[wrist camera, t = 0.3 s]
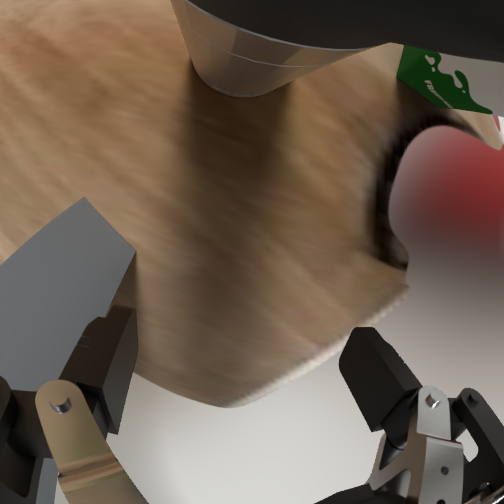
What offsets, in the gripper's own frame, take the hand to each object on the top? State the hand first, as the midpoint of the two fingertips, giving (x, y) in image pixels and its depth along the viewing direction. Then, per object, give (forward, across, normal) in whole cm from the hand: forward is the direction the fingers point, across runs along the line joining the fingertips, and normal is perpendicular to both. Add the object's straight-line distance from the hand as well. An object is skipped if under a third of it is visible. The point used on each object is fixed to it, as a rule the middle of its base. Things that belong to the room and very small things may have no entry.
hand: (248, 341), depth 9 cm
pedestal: (+18, +15, +6) cm, 25 cm away
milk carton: (+17, -18, -22) cm, 33 cm away
